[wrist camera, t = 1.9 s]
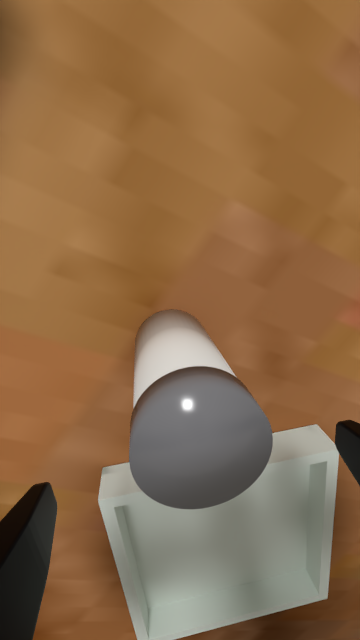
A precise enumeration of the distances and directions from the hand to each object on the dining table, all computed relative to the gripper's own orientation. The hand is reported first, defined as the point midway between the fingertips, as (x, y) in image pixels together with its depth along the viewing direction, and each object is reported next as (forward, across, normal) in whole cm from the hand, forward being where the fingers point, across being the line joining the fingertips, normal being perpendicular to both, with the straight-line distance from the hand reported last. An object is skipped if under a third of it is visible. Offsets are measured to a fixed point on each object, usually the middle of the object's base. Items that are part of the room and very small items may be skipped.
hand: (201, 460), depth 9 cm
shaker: (+9, 0, 0) cm, 9 cm away
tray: (+9, -2, +16) cm, 19 cm away
